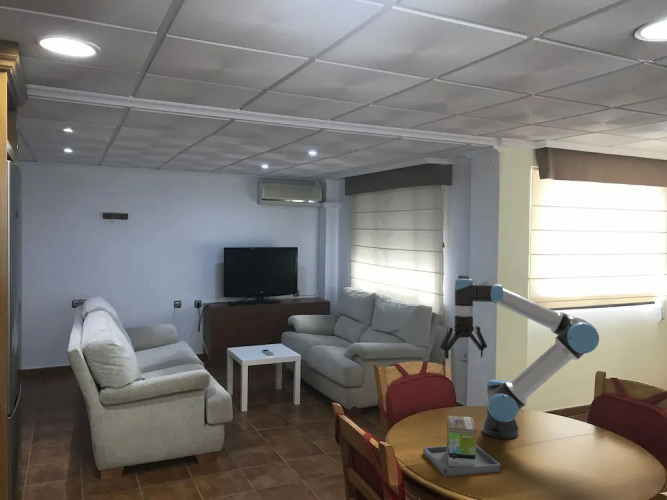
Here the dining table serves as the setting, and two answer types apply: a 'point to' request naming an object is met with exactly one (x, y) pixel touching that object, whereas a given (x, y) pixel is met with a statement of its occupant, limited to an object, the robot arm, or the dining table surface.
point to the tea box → (461, 441)
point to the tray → (441, 463)
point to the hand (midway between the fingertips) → (463, 365)
